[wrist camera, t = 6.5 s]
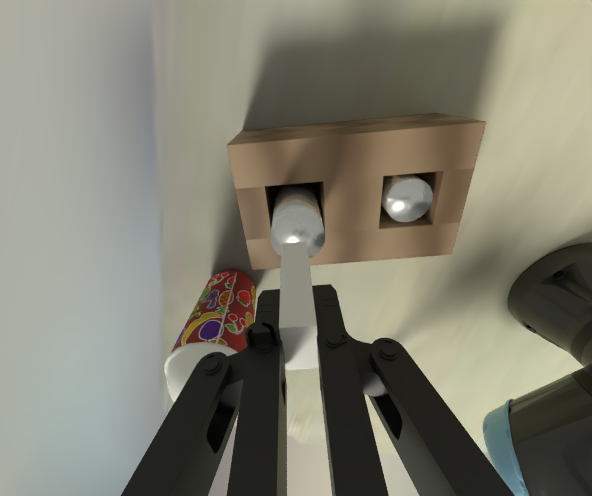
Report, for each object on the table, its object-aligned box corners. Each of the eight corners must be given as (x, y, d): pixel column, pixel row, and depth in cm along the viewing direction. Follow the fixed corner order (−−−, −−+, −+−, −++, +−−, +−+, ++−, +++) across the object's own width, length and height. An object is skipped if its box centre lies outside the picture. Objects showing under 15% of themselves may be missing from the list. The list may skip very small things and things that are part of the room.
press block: (436, 113, 27) (486, 122, 20) (418, 219, 33) (451, 254, 27) (241, 130, 28) (226, 145, 21) (259, 233, 34) (251, 270, 27)
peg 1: (315, 178, 25) (324, 210, 18) (317, 217, 27) (325, 259, 21) (272, 181, 25) (266, 215, 19) (277, 220, 27) (274, 263, 21)
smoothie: (203, 257, 36) (122, 415, 18) (265, 265, 36) (244, 423, 19) (203, 303, 40) (138, 467, 23) (259, 309, 41) (237, 471, 24)
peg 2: (403, 156, 29) (436, 177, 22) (398, 192, 31) (428, 220, 25) (366, 159, 29) (388, 181, 23) (364, 195, 31) (384, 224, 25)
